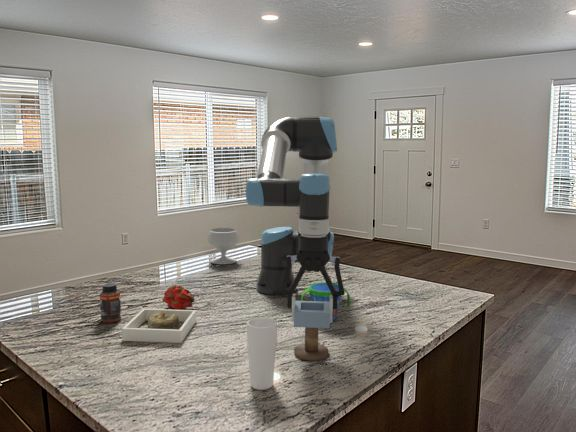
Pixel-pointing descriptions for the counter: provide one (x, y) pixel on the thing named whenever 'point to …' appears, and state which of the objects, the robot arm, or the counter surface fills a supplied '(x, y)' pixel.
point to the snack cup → (324, 295)
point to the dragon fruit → (178, 298)
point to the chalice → (223, 243)
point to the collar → (312, 314)
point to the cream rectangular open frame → (158, 335)
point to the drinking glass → (261, 351)
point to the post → (311, 347)
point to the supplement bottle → (110, 303)
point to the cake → (163, 321)
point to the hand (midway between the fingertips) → (311, 320)
